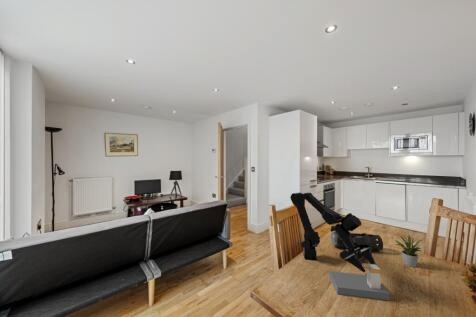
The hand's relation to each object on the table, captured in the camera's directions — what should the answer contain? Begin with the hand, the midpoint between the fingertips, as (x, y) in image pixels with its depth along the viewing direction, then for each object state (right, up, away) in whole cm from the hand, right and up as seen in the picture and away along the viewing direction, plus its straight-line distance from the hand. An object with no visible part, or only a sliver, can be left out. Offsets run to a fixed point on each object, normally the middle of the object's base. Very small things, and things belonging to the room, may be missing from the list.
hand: (370, 269), depth 83 cm
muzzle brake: (+18, -10, +39) cm, 45 cm away
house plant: (+38, -10, +21) cm, 45 cm away
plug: (+1, -10, -1) cm, 10 cm away
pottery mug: (+9, -10, +23) cm, 27 cm away
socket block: (-5, -10, +2) cm, 11 cm away
